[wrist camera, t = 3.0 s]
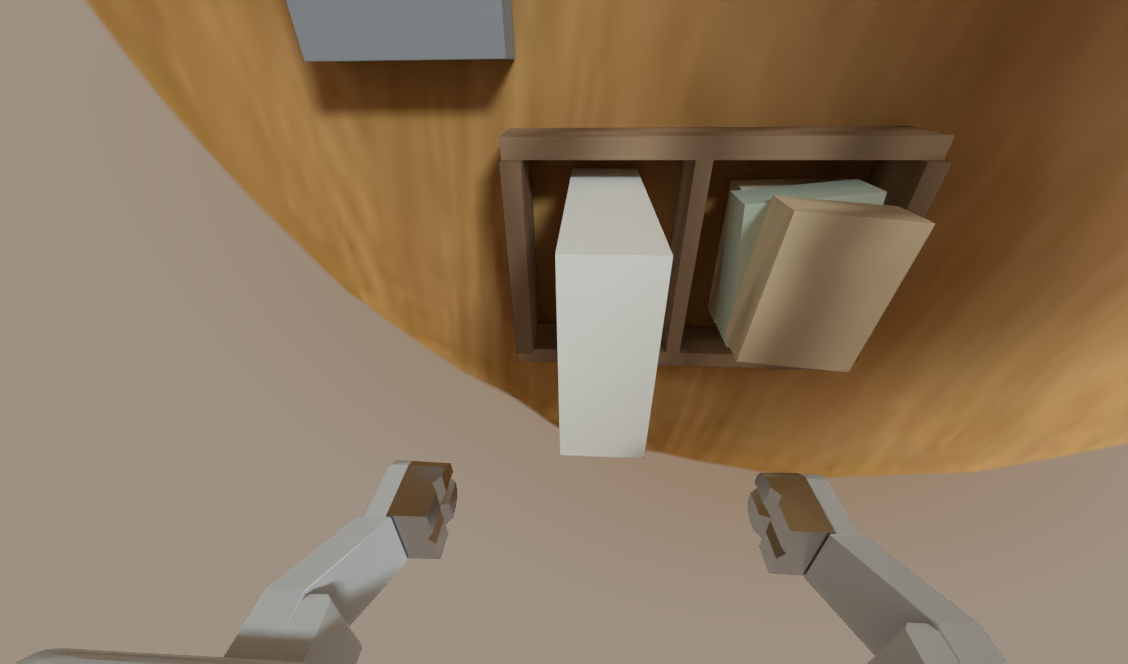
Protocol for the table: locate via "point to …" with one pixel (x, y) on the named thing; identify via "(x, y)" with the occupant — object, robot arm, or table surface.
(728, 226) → the block
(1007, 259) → the table surface
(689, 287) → the walnut rack
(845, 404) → the table surface
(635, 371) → the tall white box
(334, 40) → the slate plinth
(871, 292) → the offcut top
